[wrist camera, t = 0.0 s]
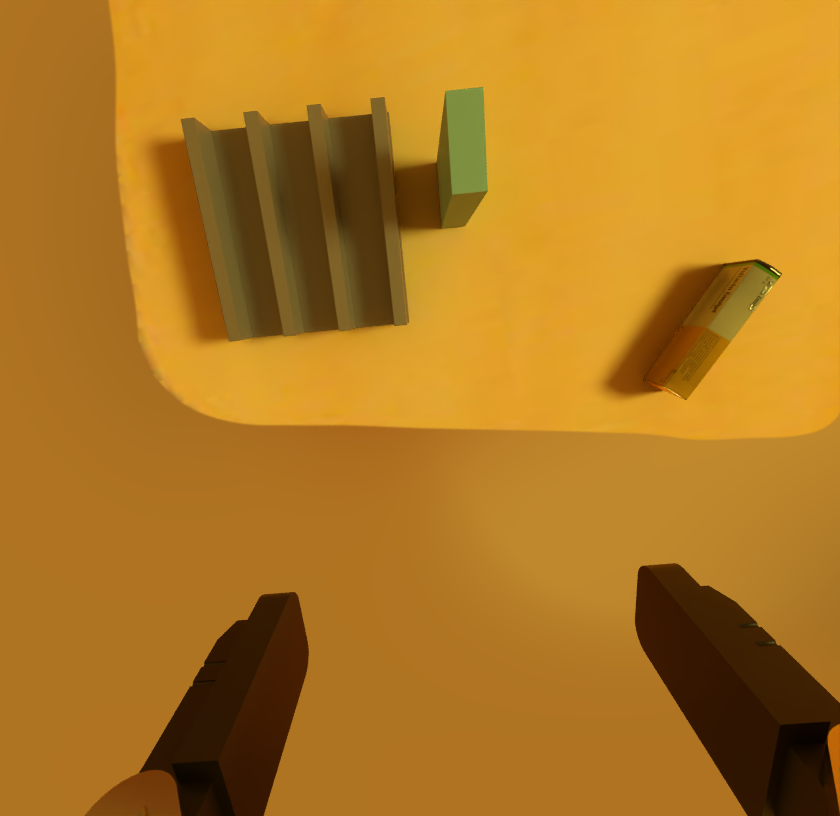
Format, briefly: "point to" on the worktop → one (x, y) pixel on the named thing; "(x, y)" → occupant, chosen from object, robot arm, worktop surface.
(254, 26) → the worktop surface
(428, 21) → the worktop surface
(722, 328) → the medication box
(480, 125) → the card
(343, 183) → the rack
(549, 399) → the worktop surface
